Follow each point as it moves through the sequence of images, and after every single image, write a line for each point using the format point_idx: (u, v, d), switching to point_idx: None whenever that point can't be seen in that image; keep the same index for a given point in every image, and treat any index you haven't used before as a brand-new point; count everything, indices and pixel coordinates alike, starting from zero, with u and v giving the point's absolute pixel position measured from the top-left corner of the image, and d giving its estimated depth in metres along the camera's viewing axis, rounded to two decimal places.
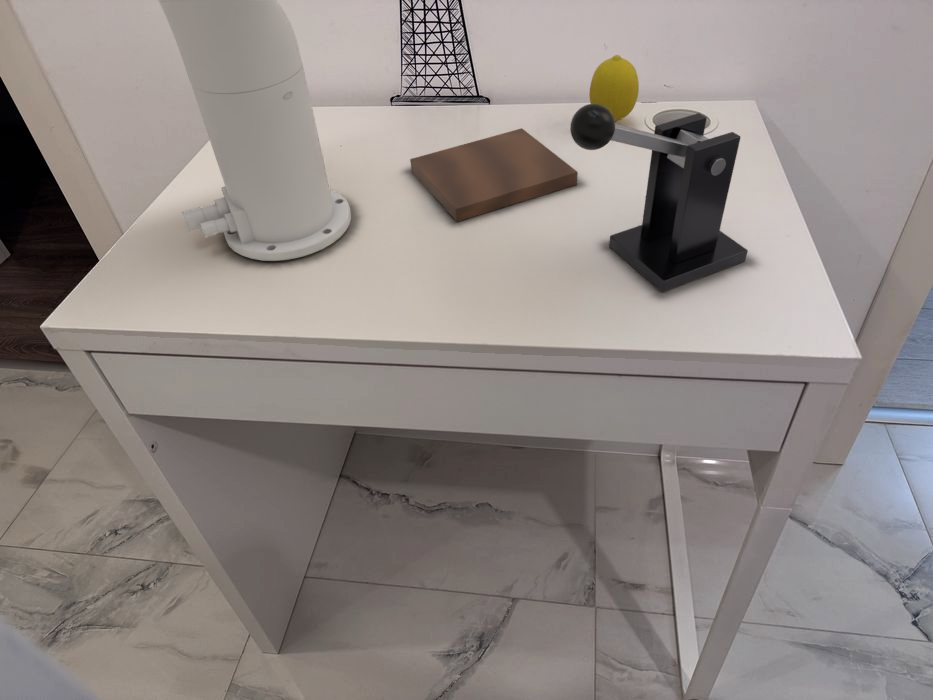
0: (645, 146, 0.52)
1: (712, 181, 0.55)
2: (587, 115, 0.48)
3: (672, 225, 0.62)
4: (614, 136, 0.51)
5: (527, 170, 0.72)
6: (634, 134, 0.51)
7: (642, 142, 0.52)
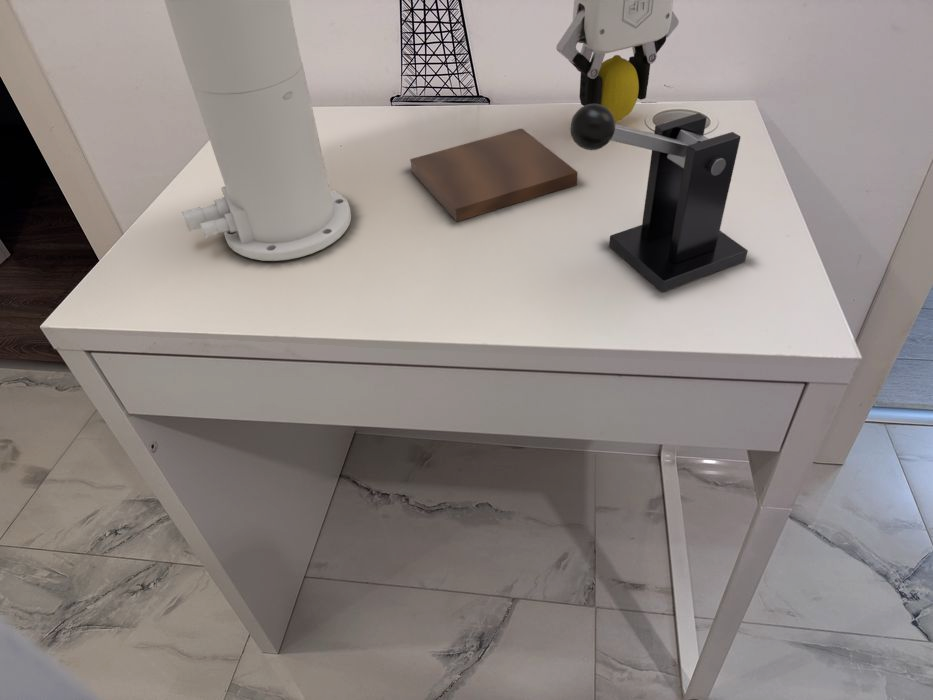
0: (645, 146, 0.52)
1: (712, 181, 0.55)
2: (587, 115, 0.48)
3: (672, 225, 0.62)
4: (614, 136, 0.51)
5: (527, 170, 0.72)
6: (634, 134, 0.51)
7: (642, 142, 0.52)
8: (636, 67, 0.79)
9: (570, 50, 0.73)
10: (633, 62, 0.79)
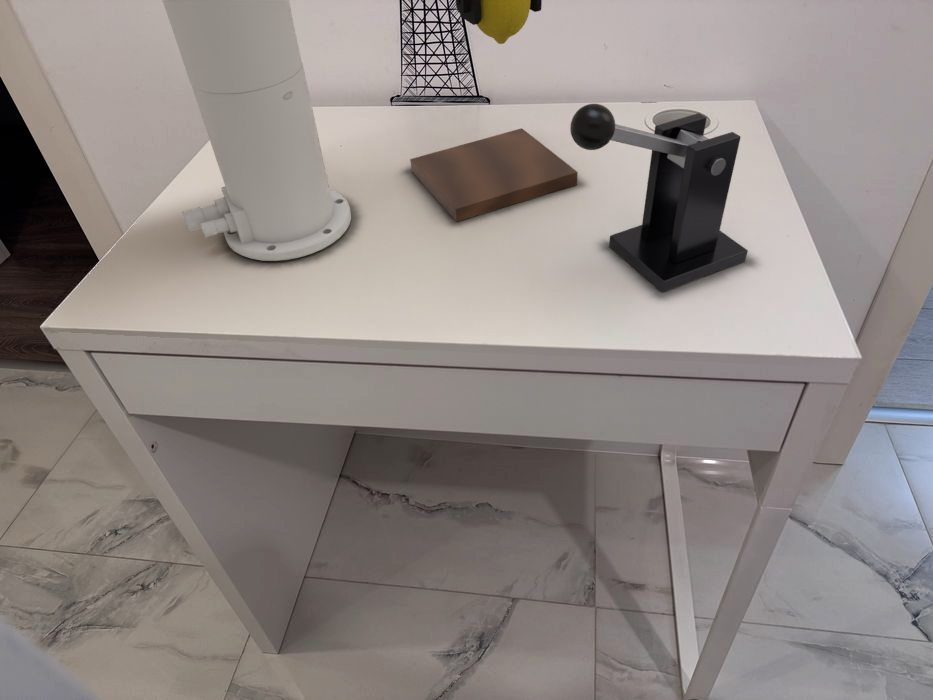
0: (645, 146, 0.52)
1: (712, 181, 0.55)
2: (587, 115, 0.48)
3: (672, 225, 0.62)
4: (614, 136, 0.51)
5: (527, 170, 0.72)
6: (634, 134, 0.51)
7: (642, 142, 0.52)
8: None
9: None
10: None
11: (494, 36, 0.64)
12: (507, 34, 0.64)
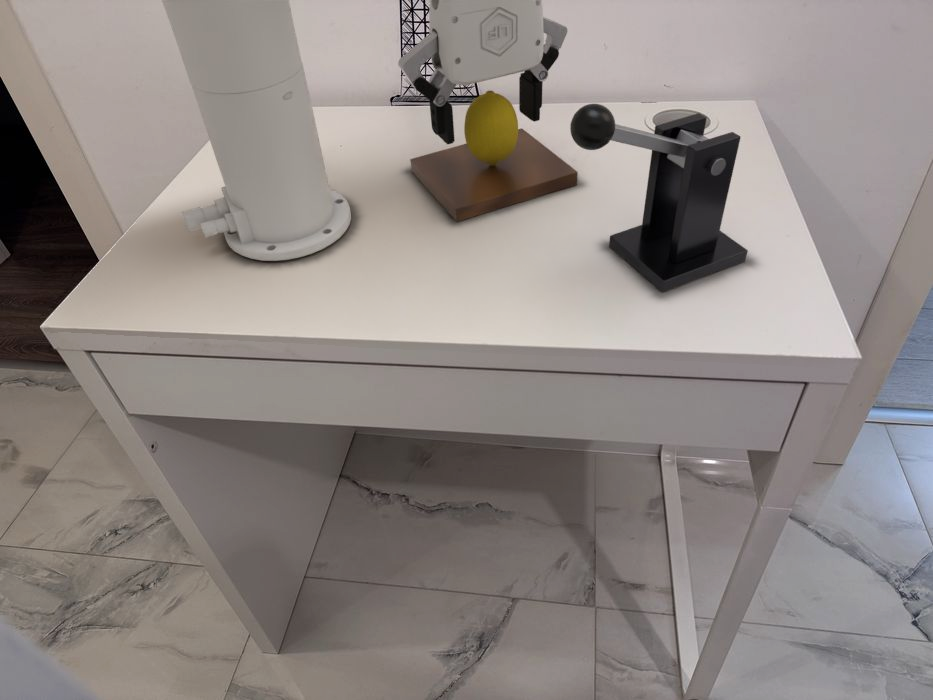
0: (645, 146, 0.52)
1: (712, 181, 0.55)
2: (587, 115, 0.48)
3: (672, 225, 0.62)
4: (614, 136, 0.51)
5: (527, 170, 0.72)
6: (634, 134, 0.51)
7: (642, 142, 0.52)
8: (527, 85, 0.69)
9: (413, 69, 0.63)
10: (524, 79, 0.70)
11: (486, 161, 0.72)
12: (497, 160, 0.71)
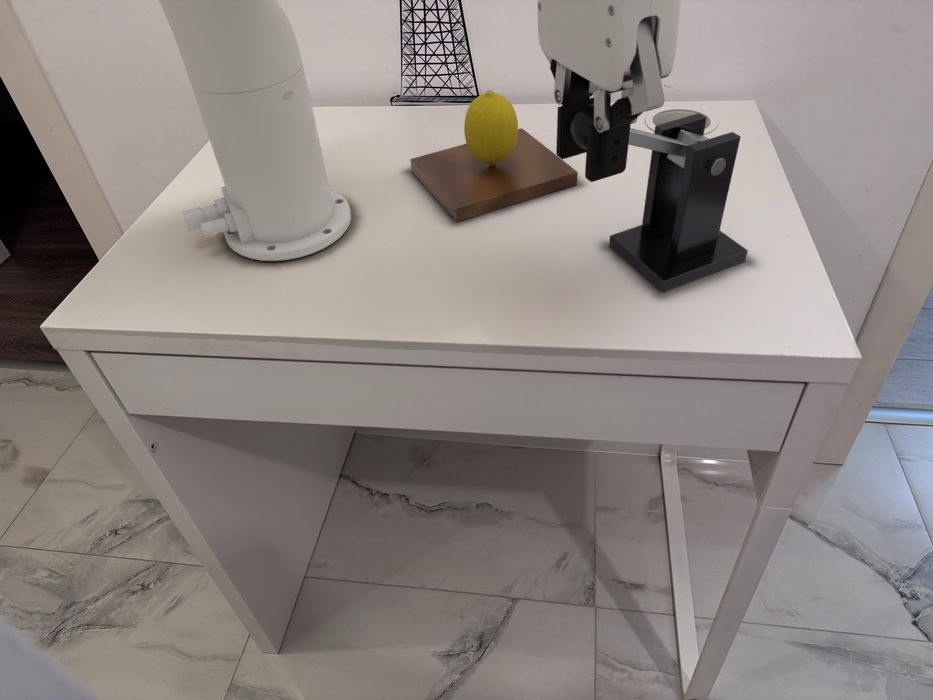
0: (645, 146, 0.52)
1: (712, 181, 0.55)
2: (587, 115, 0.48)
3: (672, 225, 0.62)
4: None
5: (527, 170, 0.72)
6: (634, 134, 0.51)
7: (642, 142, 0.52)
8: None
9: None
10: (575, 110, 0.50)
11: (486, 161, 0.72)
12: (497, 160, 0.71)
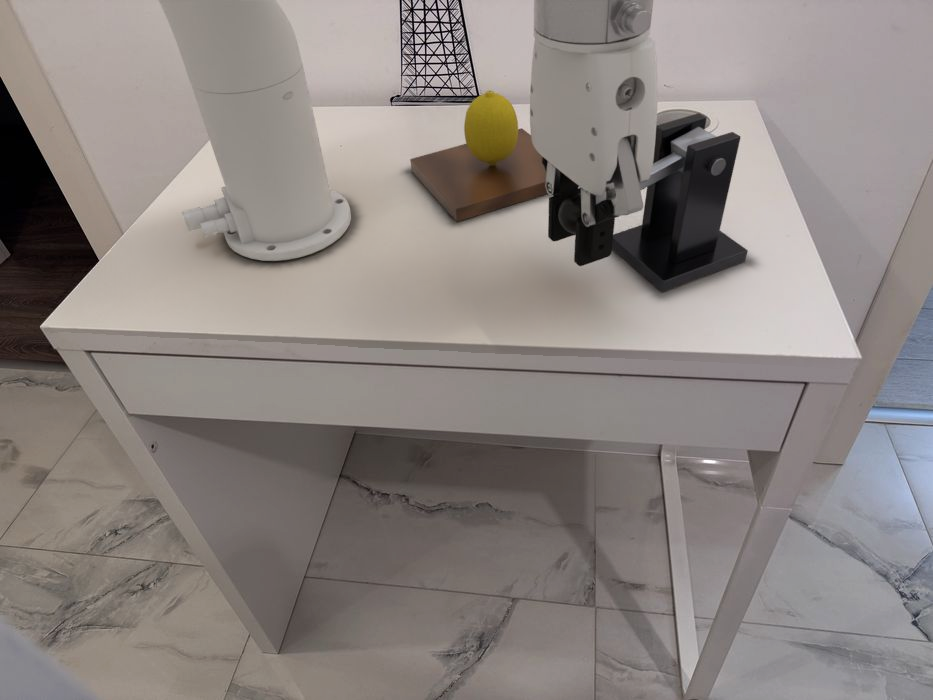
0: None
1: (712, 181, 0.55)
2: (566, 215, 0.53)
3: (672, 225, 0.62)
4: None
5: (527, 170, 0.72)
6: None
7: None
8: None
9: None
10: None
11: (486, 161, 0.72)
12: (497, 160, 0.71)
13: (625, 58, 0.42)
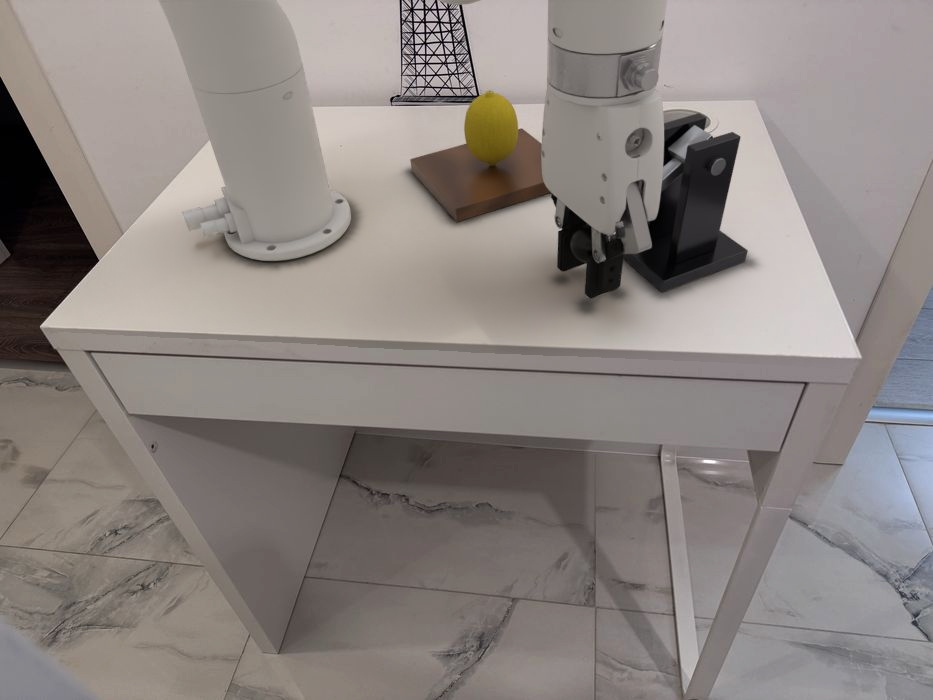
0: None
1: (712, 181, 0.55)
2: (576, 250, 0.56)
3: (672, 225, 0.62)
4: None
5: (527, 170, 0.72)
6: None
7: None
8: None
9: None
10: None
11: (486, 161, 0.72)
12: (497, 160, 0.71)
13: (634, 111, 0.45)
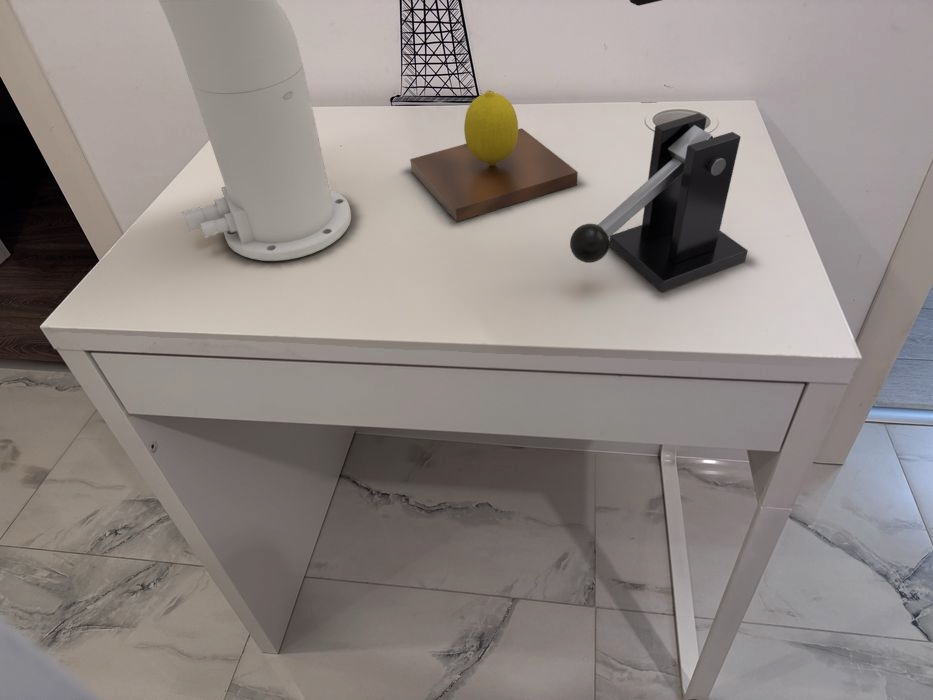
0: (643, 206, 0.56)
1: (712, 181, 0.55)
2: (576, 250, 0.56)
3: (672, 225, 0.62)
4: (611, 232, 0.57)
5: (527, 170, 0.72)
6: (625, 214, 0.56)
7: (638, 208, 0.56)
8: None
9: None
10: None
11: (486, 161, 0.72)
12: (497, 160, 0.71)
13: None
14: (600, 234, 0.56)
